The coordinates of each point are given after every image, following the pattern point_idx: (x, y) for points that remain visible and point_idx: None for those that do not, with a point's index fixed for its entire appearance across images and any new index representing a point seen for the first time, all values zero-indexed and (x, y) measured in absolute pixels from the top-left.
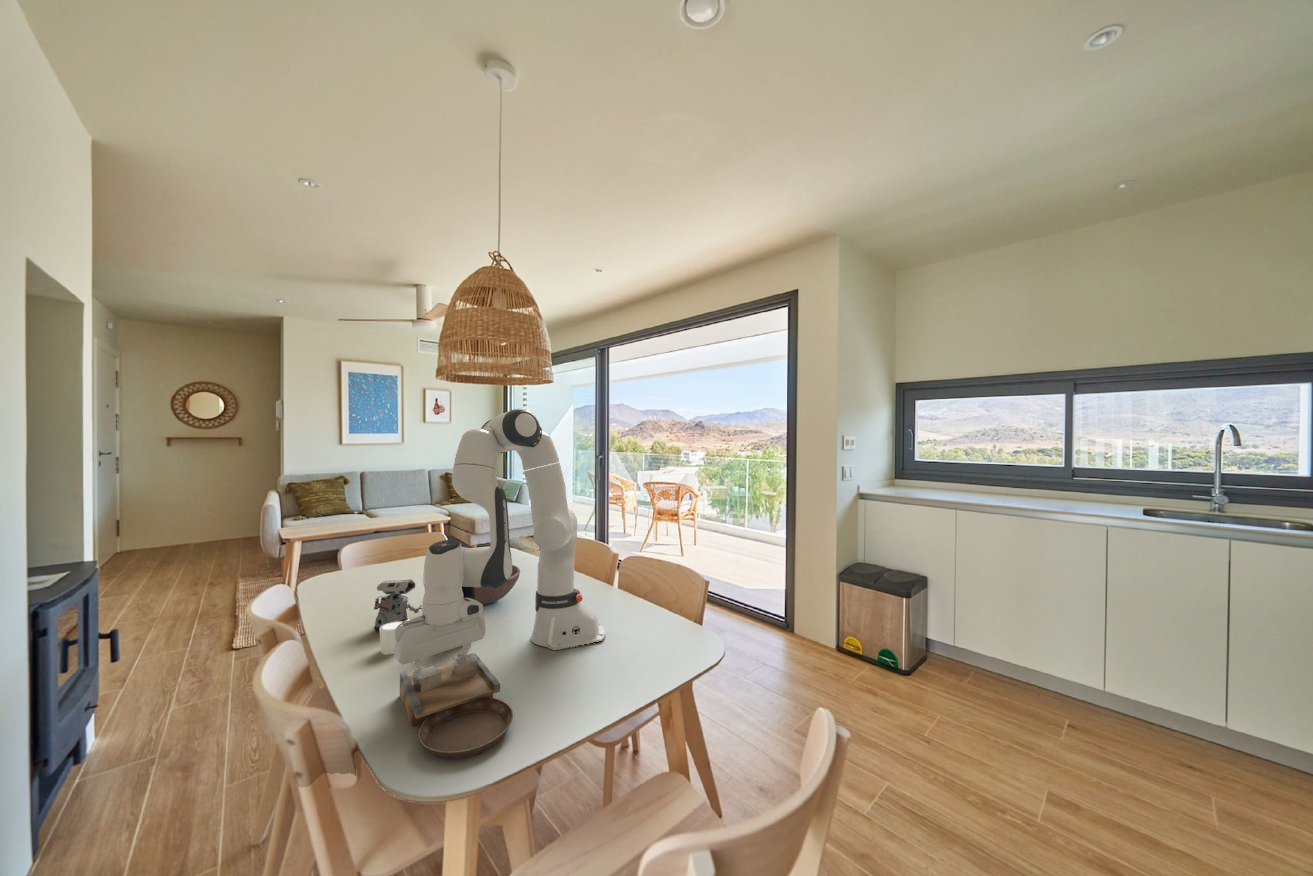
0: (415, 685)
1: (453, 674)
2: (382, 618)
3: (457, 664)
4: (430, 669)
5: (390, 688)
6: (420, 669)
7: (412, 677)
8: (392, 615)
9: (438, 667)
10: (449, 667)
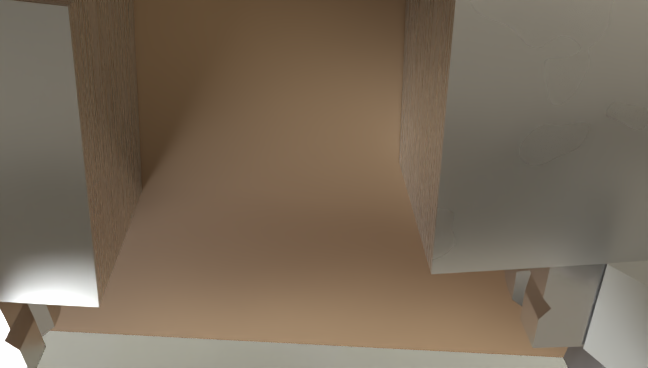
0: None
1: (165, 103)
2: None
3: (82, 95)
4: (530, 192)
5: (533, 361)
6: (634, 269)
7: None
8: None
9: (261, 340)
10: (162, 282)
